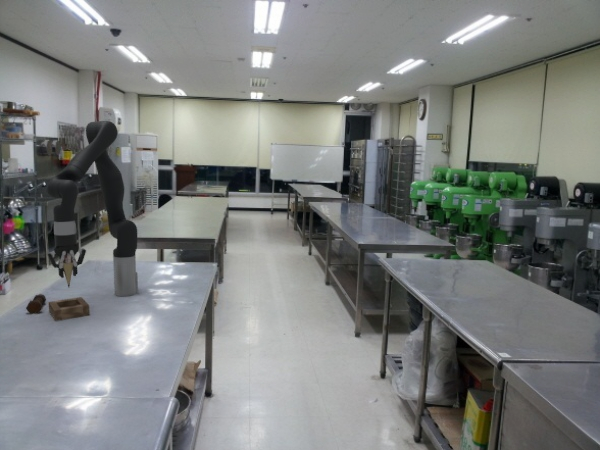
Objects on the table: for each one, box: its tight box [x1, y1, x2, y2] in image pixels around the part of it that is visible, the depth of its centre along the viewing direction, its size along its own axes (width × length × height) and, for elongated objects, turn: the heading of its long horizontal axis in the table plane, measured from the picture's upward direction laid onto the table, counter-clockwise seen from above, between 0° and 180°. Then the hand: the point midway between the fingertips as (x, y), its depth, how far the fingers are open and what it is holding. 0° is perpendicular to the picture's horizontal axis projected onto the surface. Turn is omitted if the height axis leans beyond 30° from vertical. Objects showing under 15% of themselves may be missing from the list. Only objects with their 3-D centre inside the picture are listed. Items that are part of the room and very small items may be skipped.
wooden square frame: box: [48, 296, 90, 322], centre depth 184 cm, size 12×12×4 cm
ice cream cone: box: [58, 253, 76, 288], centre depth 181 cm, size 6×6×15 cm
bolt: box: [25, 293, 47, 315], centre depth 190 cm, size 6×5×15 cm
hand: (68, 276), depth 182 cm, fingers closed on ice cream cone, 3 cm apart
